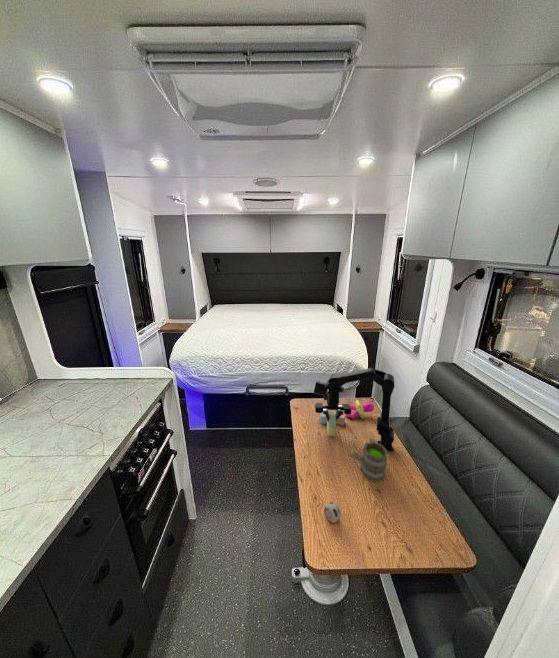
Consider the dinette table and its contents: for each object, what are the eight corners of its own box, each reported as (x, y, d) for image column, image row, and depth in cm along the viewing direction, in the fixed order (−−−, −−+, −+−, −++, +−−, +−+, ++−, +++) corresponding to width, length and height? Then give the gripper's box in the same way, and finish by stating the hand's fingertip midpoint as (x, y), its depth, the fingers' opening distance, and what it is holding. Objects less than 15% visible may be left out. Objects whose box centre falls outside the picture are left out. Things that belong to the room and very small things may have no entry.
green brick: (335, 427, 138) (336, 419, 137) (328, 426, 138) (329, 418, 137) (333, 419, 144) (334, 412, 142) (327, 419, 144) (328, 412, 142)
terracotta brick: (344, 422, 151) (345, 415, 149) (342, 425, 148) (343, 418, 147) (335, 418, 154) (335, 411, 152) (332, 422, 151) (333, 414, 150)
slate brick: (329, 419, 153) (329, 412, 152) (330, 423, 150) (331, 415, 149) (319, 420, 153) (319, 412, 151) (321, 423, 149) (321, 416, 148)
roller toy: (330, 507, 101) (331, 496, 99) (342, 520, 96) (344, 509, 95) (322, 513, 99) (323, 502, 97) (334, 527, 94) (336, 516, 92)
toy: (343, 409, 164) (341, 401, 157) (371, 403, 162) (370, 394, 156) (348, 424, 157) (346, 416, 150) (377, 417, 155) (377, 408, 148)
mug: (387, 483, 112) (391, 462, 108) (361, 479, 114) (364, 457, 110) (381, 456, 126) (384, 436, 123) (358, 452, 128) (360, 433, 125)
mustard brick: (334, 436, 140) (335, 428, 138) (328, 435, 140) (328, 428, 138) (333, 428, 146) (333, 421, 144) (326, 428, 146) (327, 421, 144)
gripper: (348, 389, 143) (345, 413, 148) (314, 388, 144) (313, 411, 149) (352, 400, 132) (350, 425, 137) (316, 399, 133) (314, 424, 138)
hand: (331, 421), depth 141 cm, fingers closed on green brick, 3 cm apart
